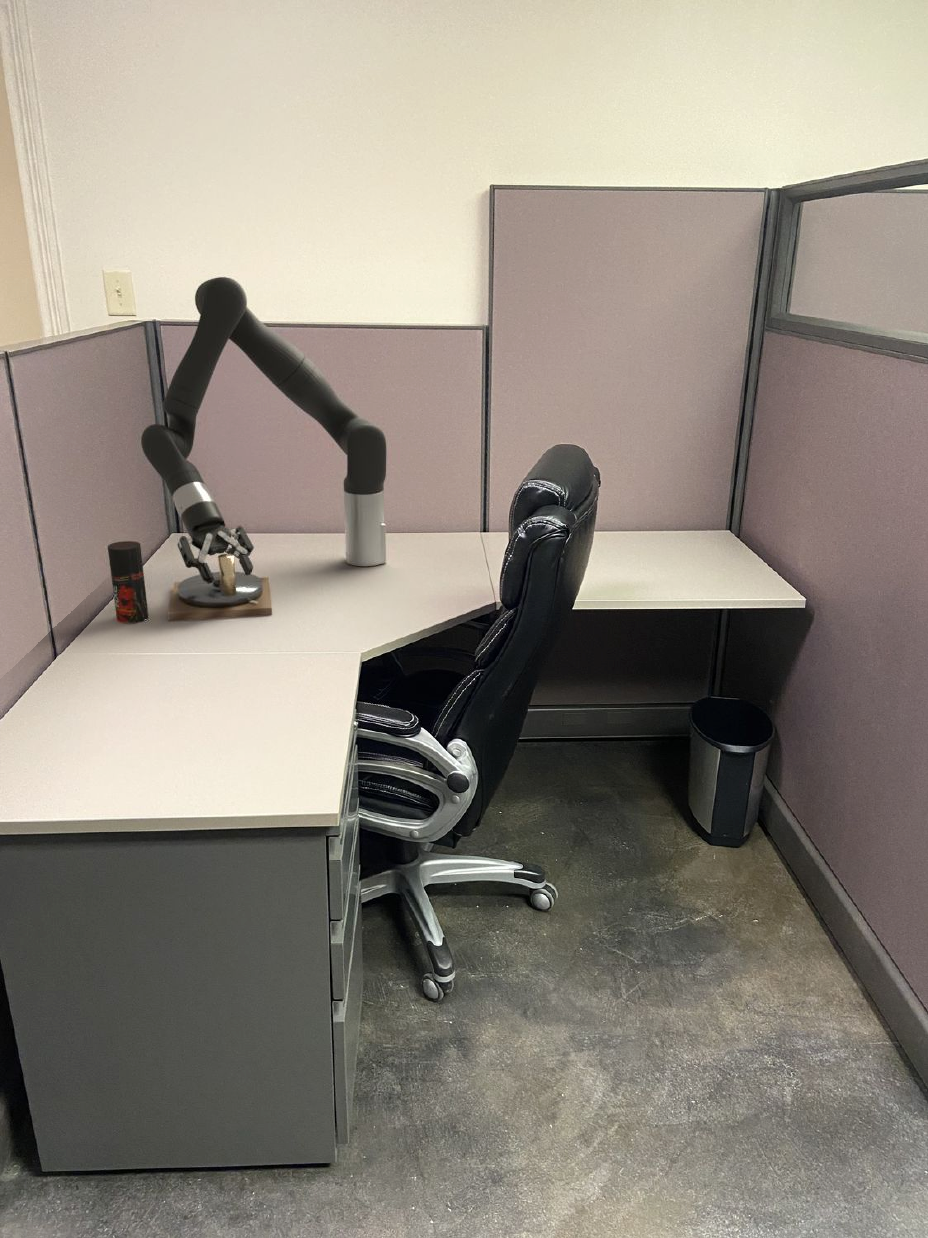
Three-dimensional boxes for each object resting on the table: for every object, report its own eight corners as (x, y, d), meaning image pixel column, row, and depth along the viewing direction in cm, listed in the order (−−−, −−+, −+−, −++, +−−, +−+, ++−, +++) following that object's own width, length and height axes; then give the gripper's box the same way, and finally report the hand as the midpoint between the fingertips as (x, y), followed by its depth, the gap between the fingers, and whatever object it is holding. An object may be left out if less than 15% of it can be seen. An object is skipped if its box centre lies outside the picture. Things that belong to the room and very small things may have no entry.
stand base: (269, 583, 203) (268, 575, 202) (272, 614, 184) (271, 606, 184) (175, 588, 198) (174, 580, 198) (168, 621, 180) (167, 612, 180)
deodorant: (155, 616, 183) (146, 543, 177) (133, 625, 178) (124, 551, 172) (132, 611, 185) (123, 539, 180) (110, 620, 180) (100, 547, 175)
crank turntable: (277, 585, 196) (274, 540, 193) (236, 611, 181) (232, 562, 177) (207, 576, 201) (203, 532, 197) (161, 601, 185) (156, 554, 182)
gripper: (169, 505, 178) (203, 574, 175) (235, 494, 188) (268, 560, 184) (160, 525, 184) (192, 594, 180) (224, 514, 193) (256, 579, 189)
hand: (230, 577), depth 182 cm, fingers open, 8 cm apart
